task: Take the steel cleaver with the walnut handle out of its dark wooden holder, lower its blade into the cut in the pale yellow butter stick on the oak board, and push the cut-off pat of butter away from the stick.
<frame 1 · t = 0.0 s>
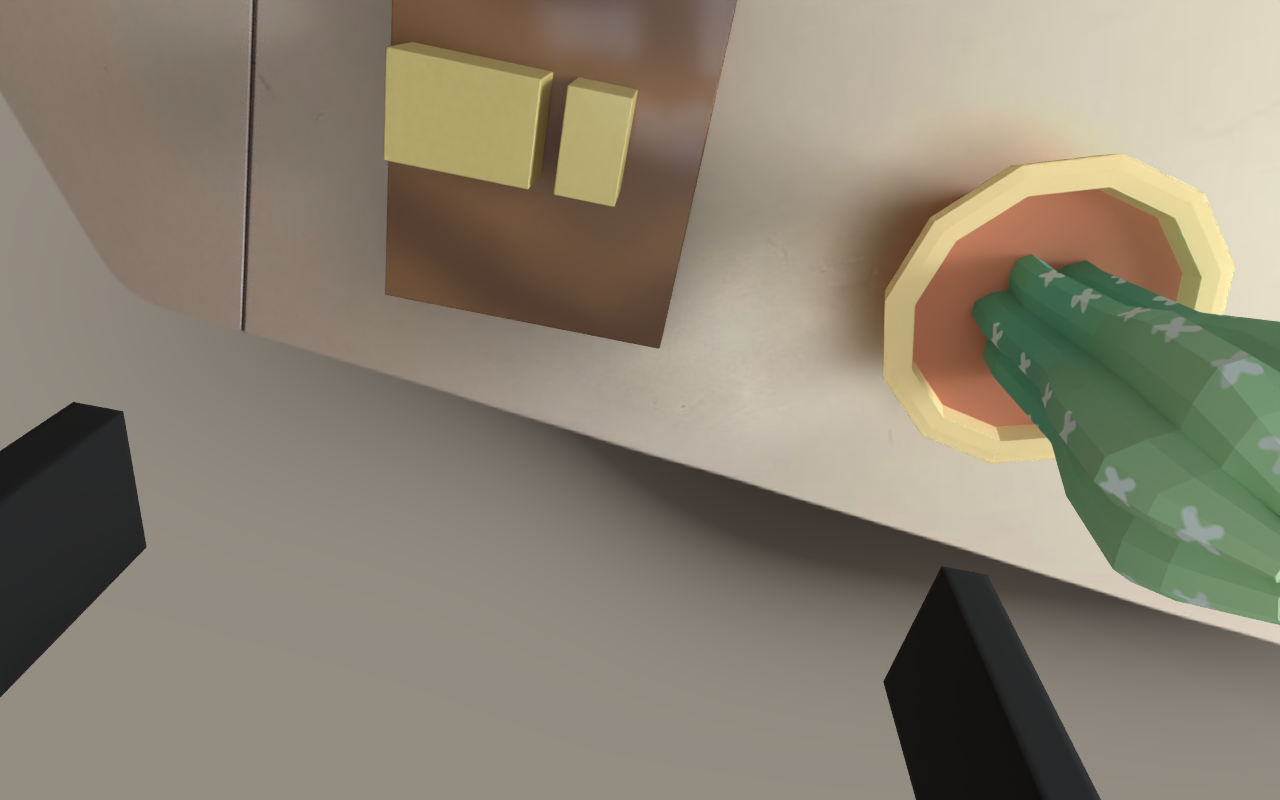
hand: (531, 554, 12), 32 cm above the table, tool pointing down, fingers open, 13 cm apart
butter: (478, 110, 38), point 1 cm above the table, touching board
potted cactus: (988, 267, 42), on the table
butter pat: (599, 135, 38), point 1 cm above the table, touching board
board: (552, 119, 39), on the table
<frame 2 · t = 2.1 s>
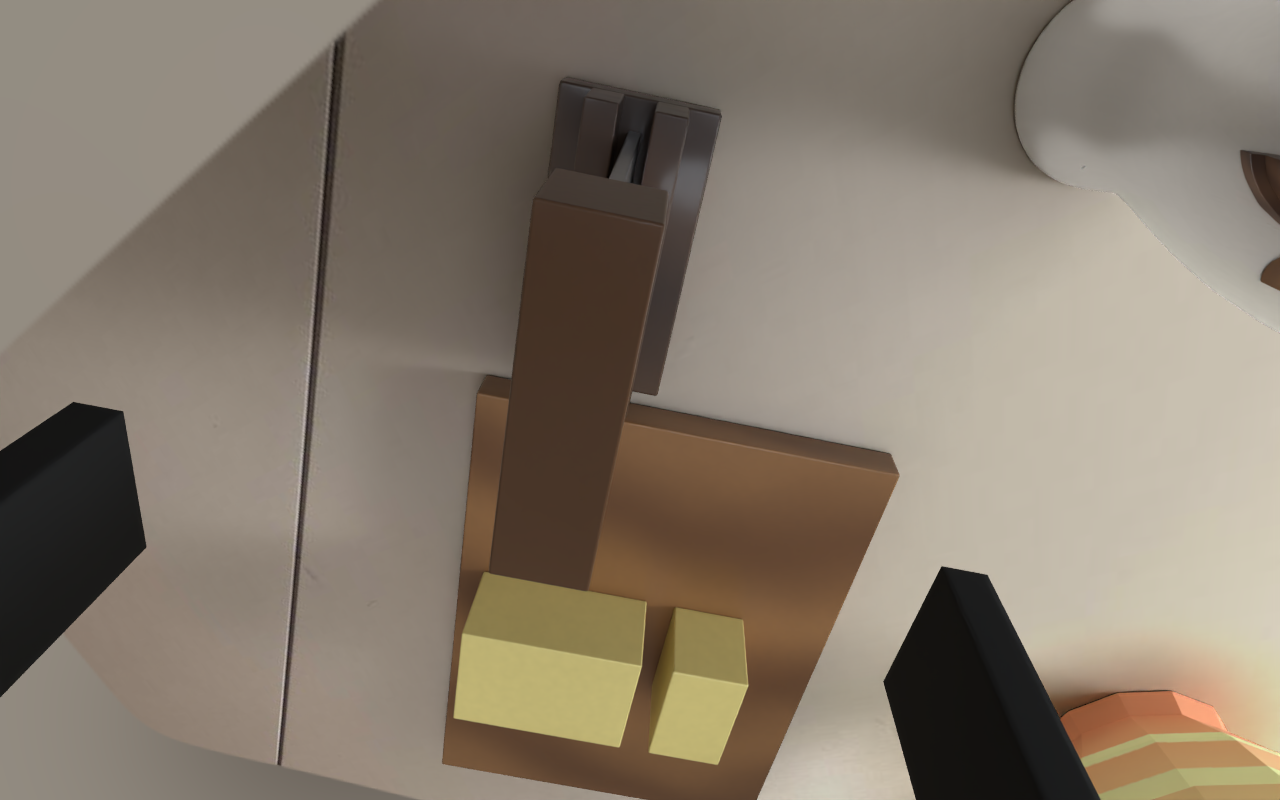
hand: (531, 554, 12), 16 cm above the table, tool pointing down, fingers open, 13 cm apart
butter: (557, 627, 33), point 1 cm above the table, touching board
knife holder: (615, 245, 26), on the table
potted cactus: (1125, 749, 37), on the table
cleaver: (613, 254, 25), point 1 cm above the table, touching knife holder
beer glass: (1115, 84, 23), on the table
butter pat: (696, 653, 33), point 1 cm above the table, touching board
board: (638, 616, 34), on the table
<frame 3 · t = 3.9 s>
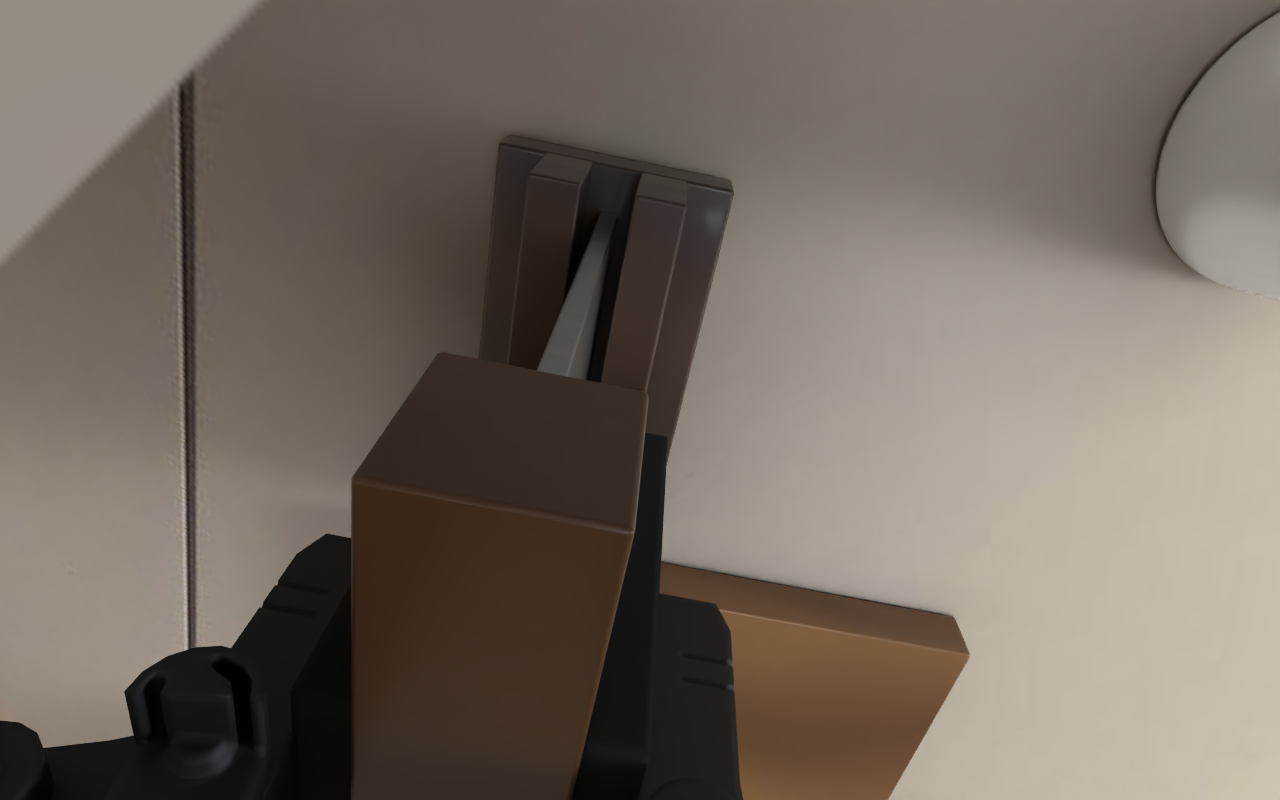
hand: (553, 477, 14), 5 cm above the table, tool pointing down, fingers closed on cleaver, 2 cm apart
knife holder: (586, 358, 19), on the table
cleaver: (581, 376, 18), point 1 cm above the table, touching gripper, knife holder
board: (624, 794, 27), on the table
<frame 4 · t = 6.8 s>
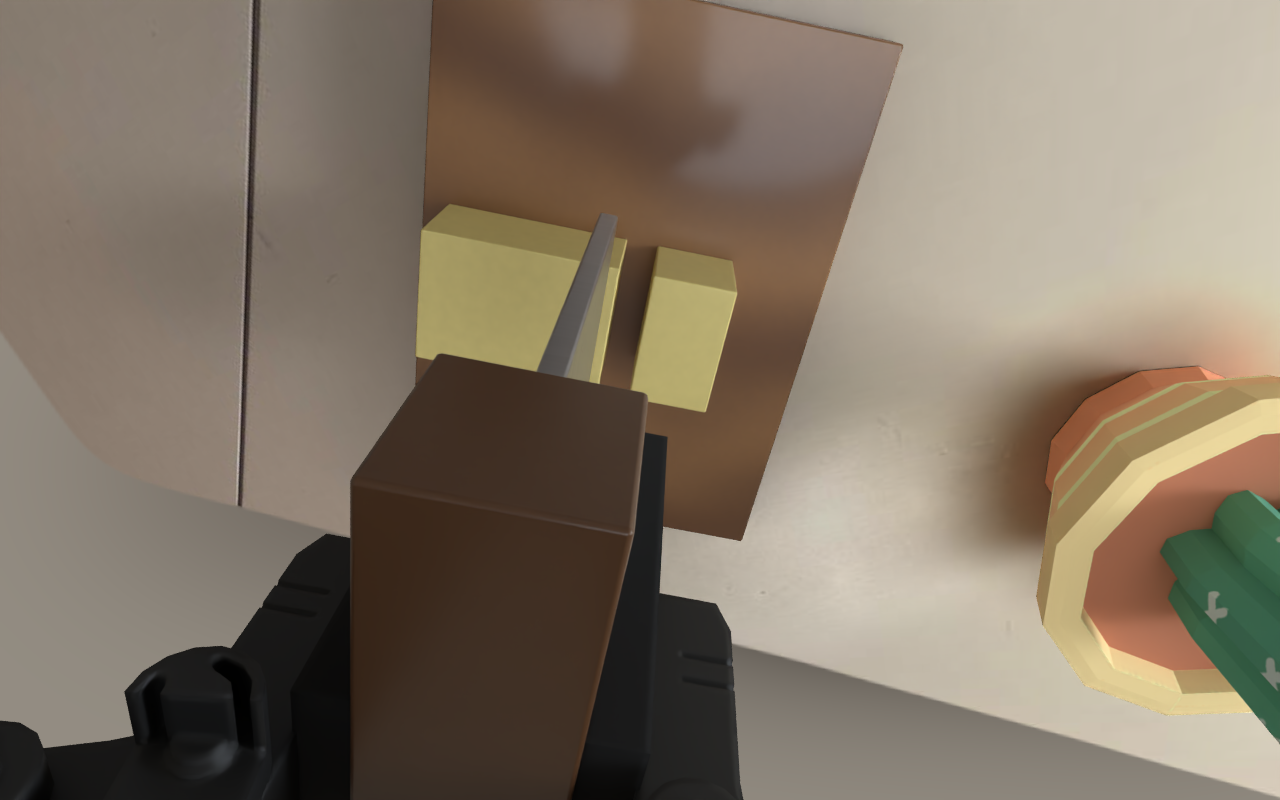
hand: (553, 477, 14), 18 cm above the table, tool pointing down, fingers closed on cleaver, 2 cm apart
butter: (531, 281, 30), point 1 cm above the table, touching board
potted cactus: (1147, 452, 34), on the table
cleaver: (581, 376, 18), point 14 cm above the table, touching gripper
butter pat: (681, 311, 31), point 1 cm above the table, touching board
board: (619, 285, 32), on the table
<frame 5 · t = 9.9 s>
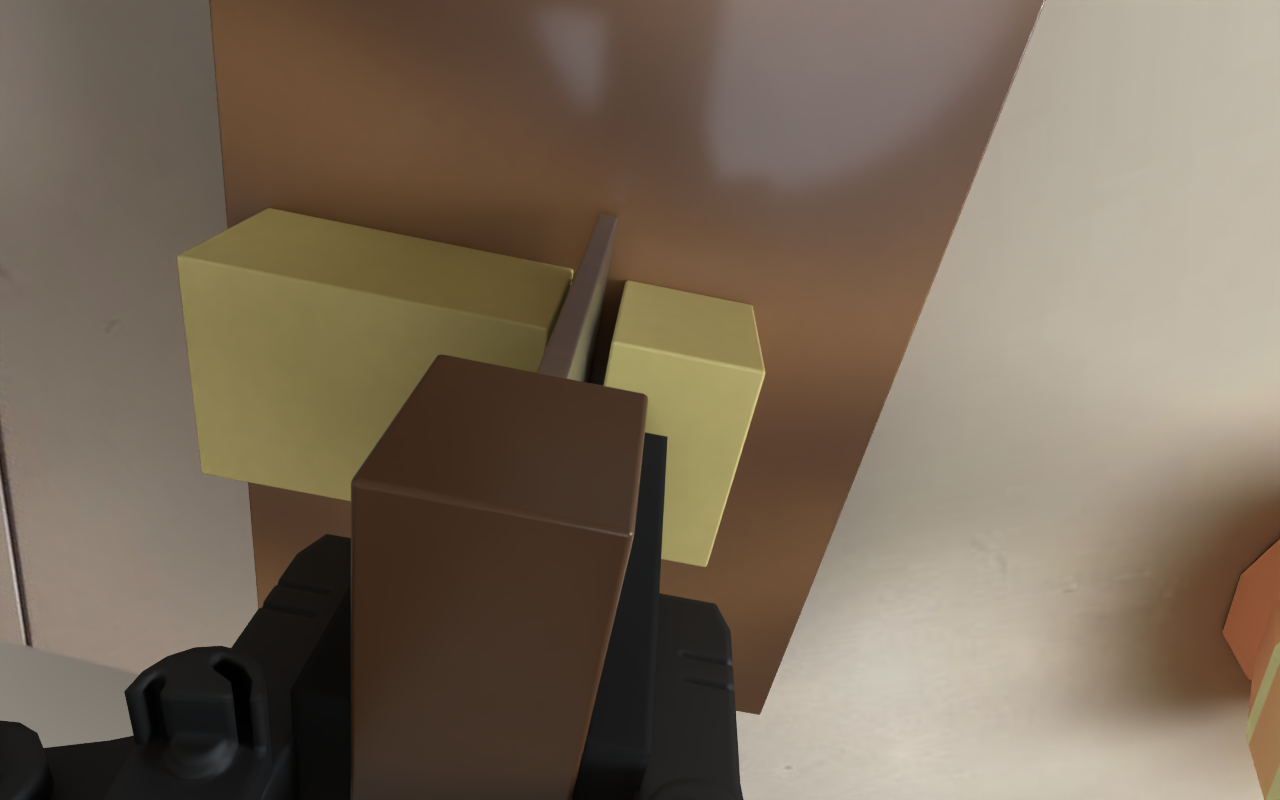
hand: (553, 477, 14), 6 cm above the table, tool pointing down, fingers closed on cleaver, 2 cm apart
butter: (417, 336, 18), point 1 cm above the table, touching board
cleaver: (581, 377, 18), point 2 cm above the table, touching gripper
butter pat: (667, 385, 19), point 1 cm above the table, touching board
board: (568, 339, 20), on the table
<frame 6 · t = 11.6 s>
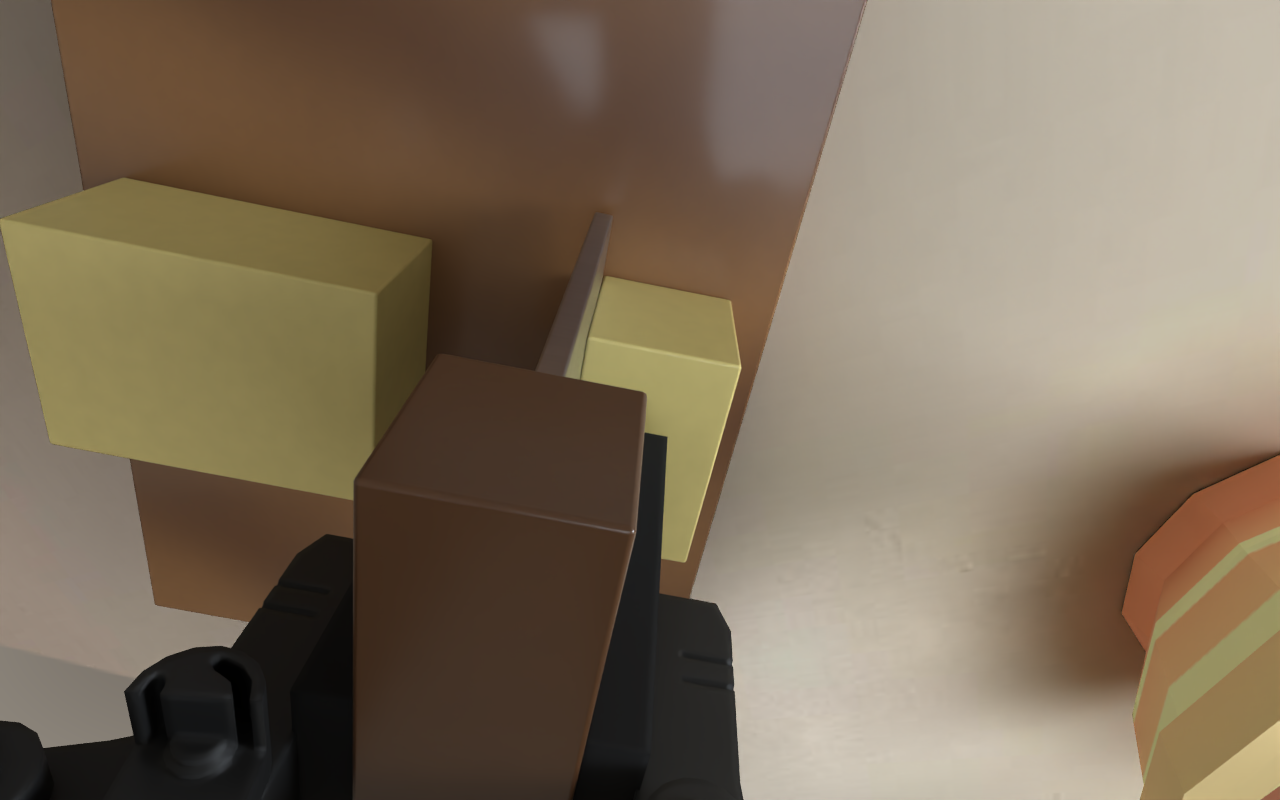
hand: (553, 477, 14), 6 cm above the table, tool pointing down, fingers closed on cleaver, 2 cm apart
butter: (284, 309, 18), point 1 cm above the table, touching board
cleaver: (577, 375, 18), point 2 cm above the table, touching butter pat, gripper
butter pat: (647, 381, 18), point 2 cm above the table, touching board, cleaver
board: (445, 314, 20), on the table
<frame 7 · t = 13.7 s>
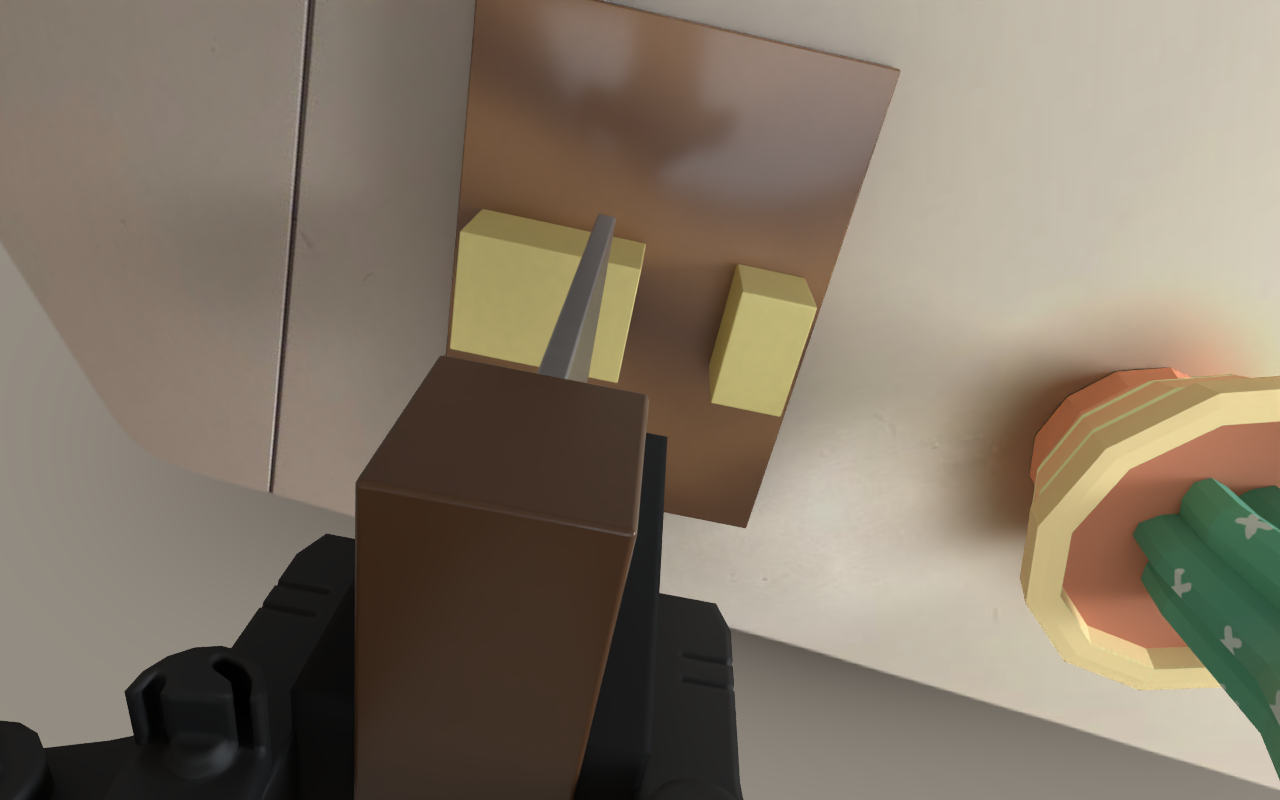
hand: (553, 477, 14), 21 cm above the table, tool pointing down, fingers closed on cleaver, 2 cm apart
butter: (555, 281, 33), point 1 cm above the table, touching board
potted cactus: (1124, 447, 37), on the table
cleaver: (579, 377, 18), point 16 cm above the table, touching gripper
butter pat: (755, 323, 33), point 1 cm above the table, touching board
board: (636, 286, 34), on the table
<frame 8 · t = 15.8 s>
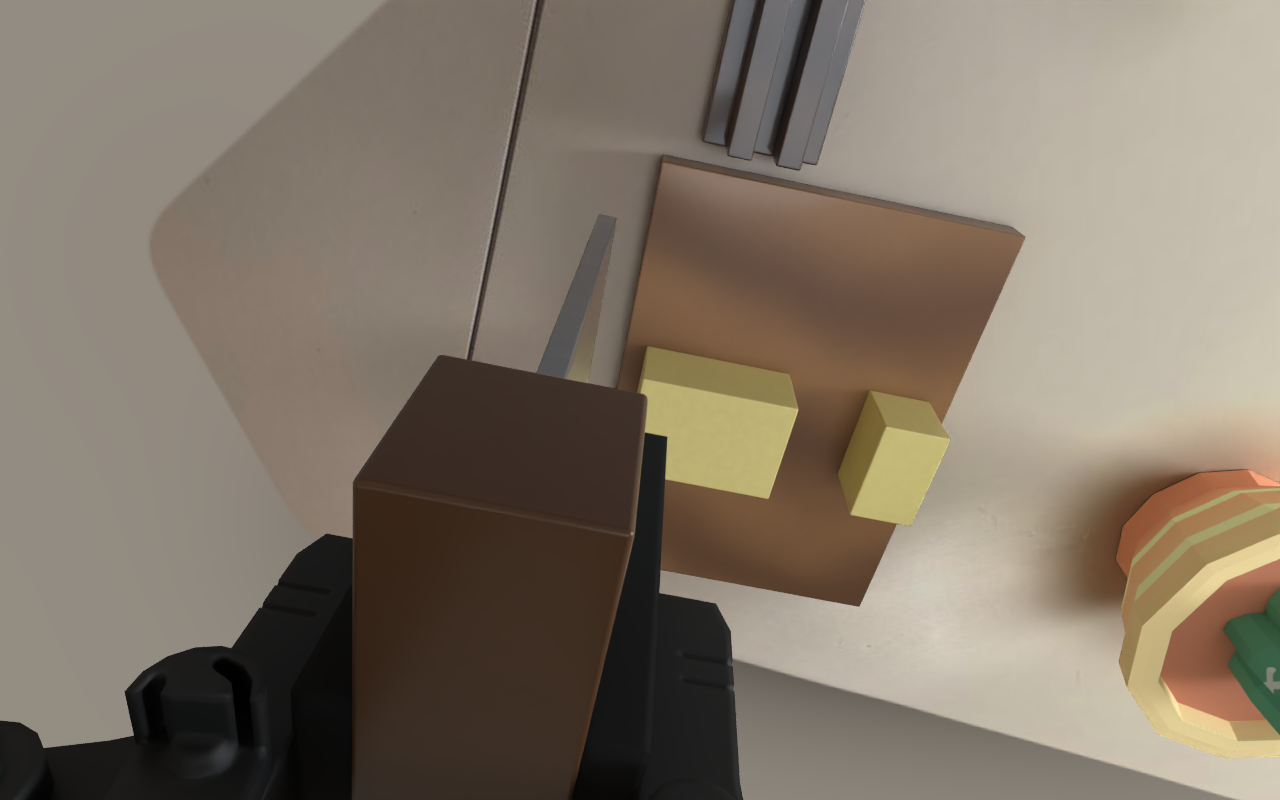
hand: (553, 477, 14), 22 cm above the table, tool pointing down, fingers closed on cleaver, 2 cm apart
butter: (706, 404, 37), point 1 cm above the table, touching board
knife holder: (790, 23, 30), on the table
potted cactus: (1202, 535, 41), on the table
cleaver: (580, 377, 18), point 18 cm above the table, touching gripper
butter pat: (881, 438, 38), point 1 cm above the table, touching board
board: (772, 403, 39), on the table
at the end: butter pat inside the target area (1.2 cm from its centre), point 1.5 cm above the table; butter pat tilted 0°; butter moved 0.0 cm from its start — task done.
